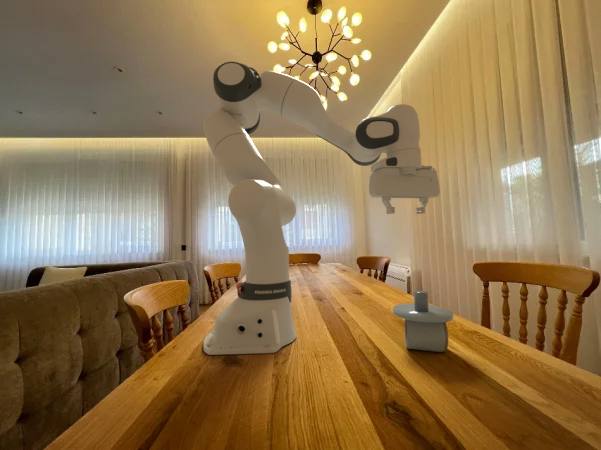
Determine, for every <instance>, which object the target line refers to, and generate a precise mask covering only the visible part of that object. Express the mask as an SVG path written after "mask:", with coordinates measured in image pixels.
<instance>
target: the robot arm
mask: <svg viewBox="0 0 601 450" xmlns="http://www.w3.org/2000/svg"><path fill="white" fill-rule="evenodd" d="M212 80H213V89H214V92H215V94H216V95H217V101H218V104H219V106H220V107H219V109H218V110H215V111H213V112H210V113H209V114H207V116H206V117H205V119H204V121H203V126H202V128H203V133H204V136H205V138H206V142H207V143H208V146H209V148H210V151H211V153H212V154H213V157H214V158H215V160H216V161H217V163H218V165H219V167H220V169H221V171H222V172H223V174H224V176H225V178H226V179H227V181H228V183H230V184H231V185H232V186H233V187H232V188H231V190H230V191H229V195H228V199H227V203H228V209H229V211H230V213H231V215H232V216H233V217H234V218H235V221H236V222H237V225H238V228H239V231H240V234H241V238H242V242H243V248H244V253H245V254H244V255H245V258H244V259H245V261H244V262H245V281H244V282H243V281H238V282H237V283H236V286H235V287H236V290H237V298H236V299H234V300H233V301H231V303H229V304H228V305H227V306H226V307H225V308H223V309H222V310H221V311H220V312H219V314H217V317H216V319H215V321H214V326H213V330H211V331H210V332H209V333H208V334H207V335H206V336H205V338H204V340H203V347H202V349H203V352H204V353H206V354H207V355H215V356H216V355H247V354H274V353H277V352H278V351H280V349H281V348H283V347H284V346H286V345H289V344H290V343H293V342H294V340H296V338H297V332H296V328H295V324H294V319H293V314H292V313H293V312H292V305H291V302H292V297H293V295H292V294H293V293H292V289H293V288H292V281H291V279H290V252H289V247H288V245H287V244H286V243H287V242H286V240H285V236H284V231H283V226H287V225H288V224H290V223H291V222H292V221H293V219H295V216H296V211H297V206H296V202H295V201H294V199H293V197H292V196H291V195H290V194H289V192H288V190H287V189H286V187H284V185H283V184H282V182H281V181H280V179H279V178H278V176H277V175H276V174H275V173H274V171H273V170H272V169H271V167H269V165H268V164H267V162H266V161H265V159H264V158H263V157H262V155H261V153H260V152H259V150H258V148H257V146H256V145H255V144H254V142H253V140H252V138H251V137H250V135H251V134H253V133H254V132H256V130H257V129H258V128H259V125H260V121H261V114H260V111H265V112H266V111H267V112H272V113H273V114H275V115H277V116H279V117H281V118H283V119H285V120H287V121H289V122H291V123H293V124H295V125H297V126H299V127H300V128H303V129H305V130H306V131H308V132H311V133H312V134H314V135H316V137H318V138H320V139H322V140H324V141H326V143H329V144H331V145H333V146H334V147H336V148H338V150H339V149H340V150H341V151H343V152H344V153H345V154H346V155H347V156H348V157H349V159H351V161H353V163H354V164H356V165H357V166H358V165H359V166H362V167H368V166H370V170H371V174H370V176H369V181H368V182H369V184H368V191H369V193H368V194H369V195H370V196H371V198H379V199H380V198H381V202H382V204H383V205H384V207H385V208H386V214H387V215H390V214H391V215H393V214H395V213H396V211H395V210H396V207H395V206H393V205H392V204H391V202H390V201H392V199H418V202H419V203H420V204H419V206H418V207H416V215H425V214H426V207H427V205H428V203H429V199H435V198H437V197H439V196H440V194H441V188H440V182H439V177H438V174H437V173H438V172H437V169H435V168H434V167H433V166H432V165H422V150H421V147H420V138H421V132H420V121H419V120H420V119H419V115H418V113H417V110H416V109H415V107H413V106H411V105H410V104H405V103H404V104H403V103H402V104H401V103H399V104H396V105H392V106H390V107H389V109H387V110H386V111H385V112H383V113H380V114H378V115H374V116H370V117H366V118H364V119H362V120H361V121H360V122H359V123H358V125H357V126H356V129H355V132H354V131H352V130H350V129H348V128H346V127H344V126H343V125H341V124H340V123H338V122H336V121H335V120H333V119H332V118H331V117H330V116H329V114H328V113H327V110H326V109H325V106H324V104H323V102H322V99H321V97H320V94H319V93H318V92H317V90H316V89H314V88H313V86H310V85H309V84H308V83H306V82H304V81H302V80H300V79H297V78H295V77H293V76H290V75H288V74H285V73H281V72H278V71H274V70H264V71H263V72H261V73H260V74H259V73H258V71H257V70H256V69H254V67H252V66H251V67H250V66H248V65H247V64H244V63H241V62H237V61H227V62H224V63H222V64H220V65H218V66H217V68H215V70H214V72H213V78H212ZM381 154H386V157H385V158H382V159H380V157H381ZM379 159H380V160H379ZM378 160H379V161H378Z"/></svg>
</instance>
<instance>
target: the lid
mask: <svg viewBox="0 0 601 450" xmlns="http://www.w3.org/2000/svg"><path fill="white" fill-rule="evenodd" d="M413 296H414V297H413V300H414V301H413V303H409V302H408V303H400V304H396V305H394V306H393V307H392V313H393V315H395V316H396V317H398V318H401V319H404V320H405V319H406V320H411V321H416V322H423V323H444V322H446V323H449V322H452V321H453V319H454V313H453V312H452V311H451V310H449V309H447V308H445V307H441V306H439V305H438V306H437V305H432V304H429V294H428V291H424V290H415V291H414V290H413Z"/></svg>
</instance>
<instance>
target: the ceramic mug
mask: <svg viewBox="0 0 601 450" xmlns="http://www.w3.org/2000/svg"><path fill="white" fill-rule="evenodd" d="M404 340H405V341H404V342H405V348H406V349H410V350H418V351H426V352H427V351H429V352H435V353H442V352H446V351H447V349H448V347H449V331H448V326H447V322H444V323H423V322H416V321H411V320H406V319H404Z"/></svg>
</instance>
